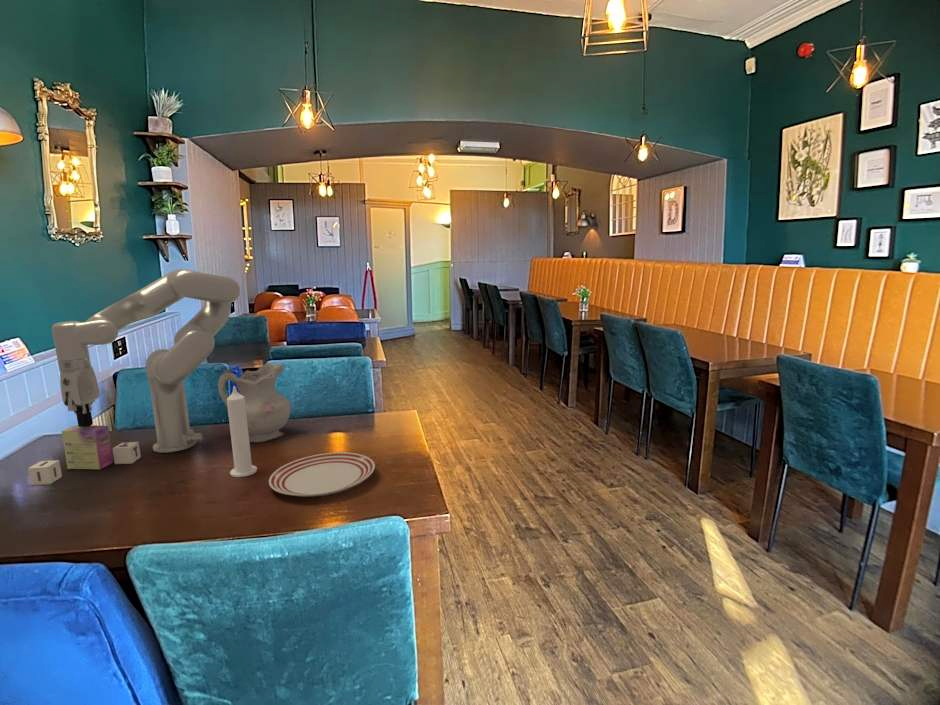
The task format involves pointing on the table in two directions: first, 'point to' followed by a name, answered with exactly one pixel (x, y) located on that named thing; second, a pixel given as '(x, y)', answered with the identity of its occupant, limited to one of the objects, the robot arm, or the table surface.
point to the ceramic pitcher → (260, 401)
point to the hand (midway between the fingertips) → (85, 425)
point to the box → (87, 447)
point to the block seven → (126, 453)
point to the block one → (45, 472)
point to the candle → (239, 436)
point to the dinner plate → (322, 474)
